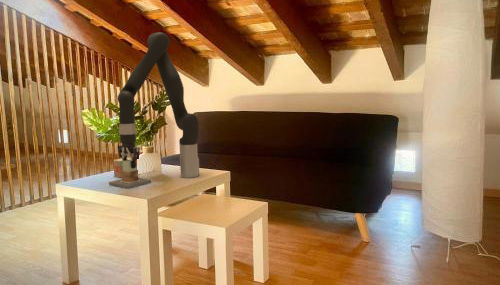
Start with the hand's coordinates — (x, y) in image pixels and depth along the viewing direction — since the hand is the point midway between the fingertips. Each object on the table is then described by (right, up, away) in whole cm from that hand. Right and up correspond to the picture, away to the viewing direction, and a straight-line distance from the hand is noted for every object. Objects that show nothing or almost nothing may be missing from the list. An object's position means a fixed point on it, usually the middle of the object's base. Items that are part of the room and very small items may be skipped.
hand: (129, 167), depth 191 cm
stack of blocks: (-5, -5, +24) cm, 25 cm away
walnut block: (0, -7, +1) cm, 7 cm away
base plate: (0, -8, +1) cm, 8 cm away
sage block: (0, -2, 0) cm, 2 cm away
